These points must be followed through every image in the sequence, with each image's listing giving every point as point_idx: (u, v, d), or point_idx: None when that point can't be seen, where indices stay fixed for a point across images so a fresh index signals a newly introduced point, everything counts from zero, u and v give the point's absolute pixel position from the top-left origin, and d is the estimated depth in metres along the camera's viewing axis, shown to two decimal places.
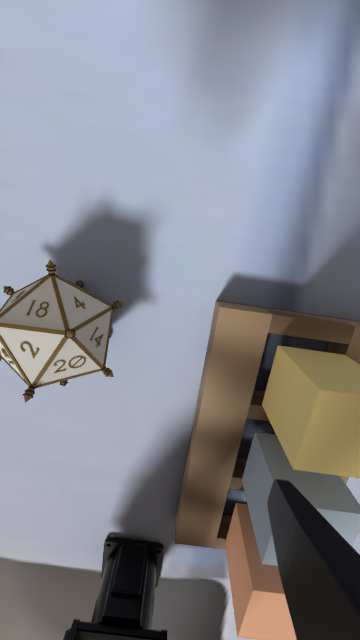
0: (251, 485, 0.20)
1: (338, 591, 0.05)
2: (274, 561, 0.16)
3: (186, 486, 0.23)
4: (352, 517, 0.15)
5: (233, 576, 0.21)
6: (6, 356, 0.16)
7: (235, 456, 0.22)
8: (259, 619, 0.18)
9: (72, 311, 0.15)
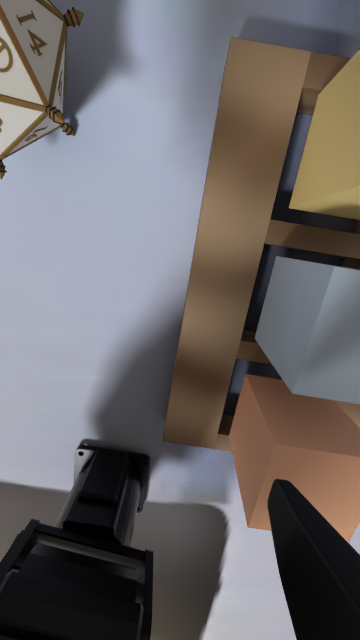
0: (271, 322, 0.14)
1: (338, 591, 0.05)
2: (312, 388, 0.10)
3: (178, 355, 0.17)
4: None
5: (241, 460, 0.15)
6: None
7: (245, 307, 0.16)
8: None
9: None
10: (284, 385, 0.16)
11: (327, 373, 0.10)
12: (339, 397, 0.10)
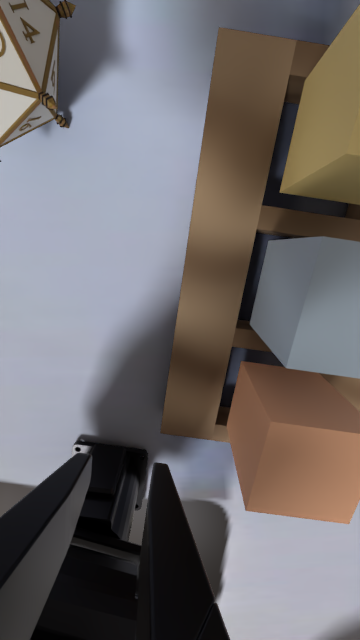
0: (264, 305, 0.14)
1: (148, 568, 0.05)
2: (306, 362, 0.10)
3: (174, 344, 0.17)
4: None
5: (238, 446, 0.15)
6: None
7: (240, 293, 0.16)
8: (279, 478, 0.12)
9: None
10: (280, 371, 0.16)
11: (320, 346, 0.10)
12: (333, 371, 0.10)
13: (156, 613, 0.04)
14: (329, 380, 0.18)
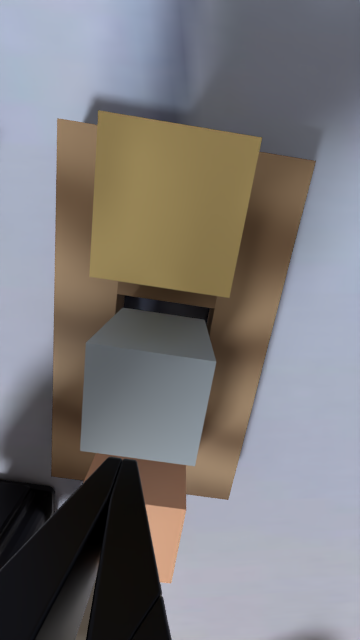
0: None
1: (100, 561, 0.05)
2: (97, 446, 0.11)
3: (53, 395, 0.18)
4: (196, 366, 0.10)
5: None
6: None
7: None
8: None
9: None
10: None
11: (106, 432, 0.11)
12: (122, 453, 0.11)
13: (99, 606, 0.04)
14: (204, 429, 0.19)
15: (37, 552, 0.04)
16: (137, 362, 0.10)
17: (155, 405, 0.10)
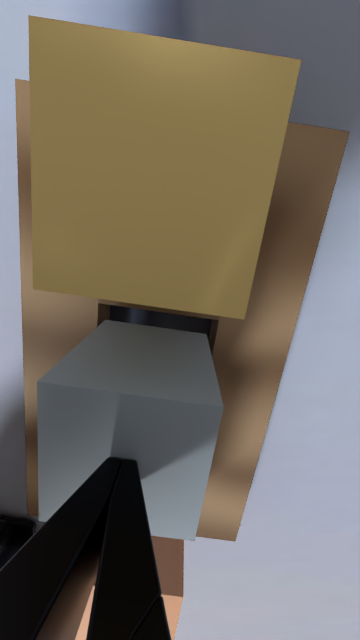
0: None
1: (100, 561, 0.05)
2: None
3: (26, 424, 0.15)
4: (195, 414, 0.07)
5: None
6: None
7: None
8: None
9: None
10: None
11: None
12: None
13: (99, 606, 0.04)
14: None
15: (37, 552, 0.04)
16: (112, 408, 0.07)
17: (138, 464, 0.07)
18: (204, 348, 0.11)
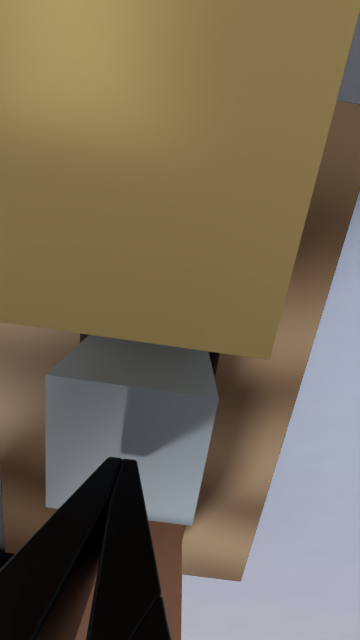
0: None
1: (100, 561, 0.05)
2: None
3: (0, 453, 0.13)
4: (192, 404, 0.07)
5: None
6: None
7: None
8: None
9: None
10: None
11: (77, 485, 0.08)
12: None
13: (99, 606, 0.04)
14: (208, 496, 0.14)
15: (37, 552, 0.04)
16: (115, 400, 0.07)
17: (139, 453, 0.08)
18: None
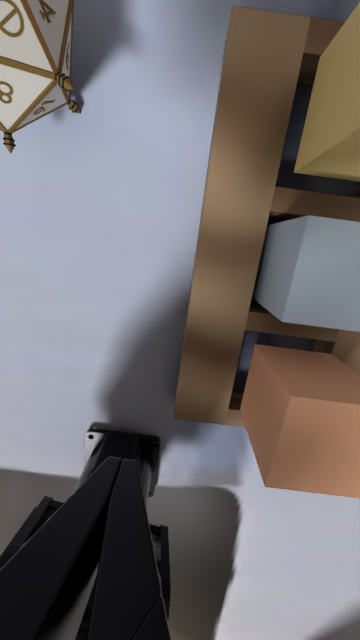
0: (265, 278, 0.16)
1: (100, 561, 0.05)
2: (298, 316, 0.13)
3: (187, 328, 0.17)
4: None
5: (254, 426, 0.15)
6: None
7: (253, 276, 0.16)
8: (299, 453, 0.12)
9: None
10: (294, 353, 0.16)
11: (308, 303, 0.13)
12: (319, 323, 0.13)
13: (99, 606, 0.04)
14: (342, 362, 0.18)
15: (37, 552, 0.04)
16: (349, 233, 0.12)
17: (356, 275, 0.12)
18: None
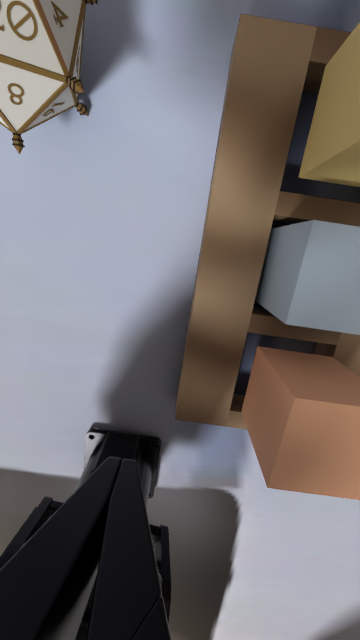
0: (268, 281, 0.17)
1: (100, 561, 0.05)
2: (301, 319, 0.13)
3: (190, 330, 0.17)
4: None
5: (256, 428, 0.15)
6: None
7: (256, 279, 0.16)
8: (302, 454, 0.12)
9: None
10: (296, 355, 0.16)
11: (312, 306, 0.13)
12: (322, 326, 0.13)
13: (99, 606, 0.04)
14: None
15: (37, 552, 0.04)
16: (353, 238, 0.12)
17: (359, 279, 0.12)
18: None
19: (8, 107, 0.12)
